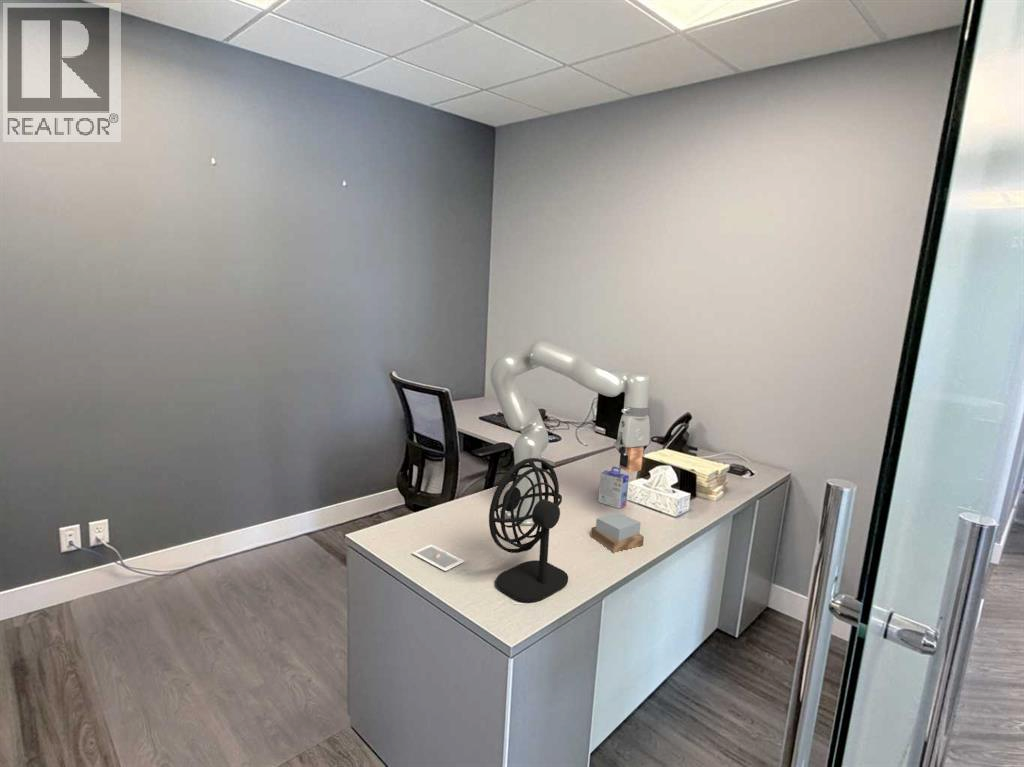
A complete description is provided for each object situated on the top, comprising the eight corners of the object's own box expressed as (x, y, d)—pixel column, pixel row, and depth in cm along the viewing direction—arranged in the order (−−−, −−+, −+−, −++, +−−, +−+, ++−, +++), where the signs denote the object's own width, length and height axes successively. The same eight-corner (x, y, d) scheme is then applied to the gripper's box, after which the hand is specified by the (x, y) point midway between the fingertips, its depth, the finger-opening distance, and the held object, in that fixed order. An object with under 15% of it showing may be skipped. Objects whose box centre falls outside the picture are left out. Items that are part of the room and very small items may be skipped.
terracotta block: (628, 472, 174) (631, 448, 173) (619, 467, 179) (621, 444, 177) (640, 470, 177) (643, 447, 175) (631, 465, 181) (633, 442, 180)
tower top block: (618, 541, 170) (619, 529, 169) (595, 529, 178) (596, 518, 177) (639, 533, 176) (640, 522, 175) (616, 522, 184) (617, 511, 183)
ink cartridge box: (627, 505, 208) (630, 469, 205) (620, 509, 204) (623, 473, 201) (604, 498, 214) (607, 463, 211) (597, 502, 209) (600, 466, 207)
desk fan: (539, 554, 167) (546, 445, 160) (585, 577, 154) (593, 460, 148) (473, 585, 148) (477, 463, 142) (518, 614, 136) (524, 482, 129)
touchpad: (445, 574, 154) (445, 567, 153) (411, 556, 163) (411, 549, 163) (464, 564, 159) (465, 557, 159) (431, 547, 169) (431, 541, 169)
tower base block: (612, 554, 169) (613, 543, 169) (590, 538, 180) (591, 527, 179) (642, 548, 175) (643, 536, 174) (619, 532, 185) (620, 521, 185)
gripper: (621, 415, 167) (616, 471, 170) (663, 412, 175) (657, 465, 178) (607, 410, 174) (602, 464, 177) (647, 407, 181) (642, 459, 185)
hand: (630, 464), depth 177 cm, fingers closed on terracotta block, 5 cm apart
